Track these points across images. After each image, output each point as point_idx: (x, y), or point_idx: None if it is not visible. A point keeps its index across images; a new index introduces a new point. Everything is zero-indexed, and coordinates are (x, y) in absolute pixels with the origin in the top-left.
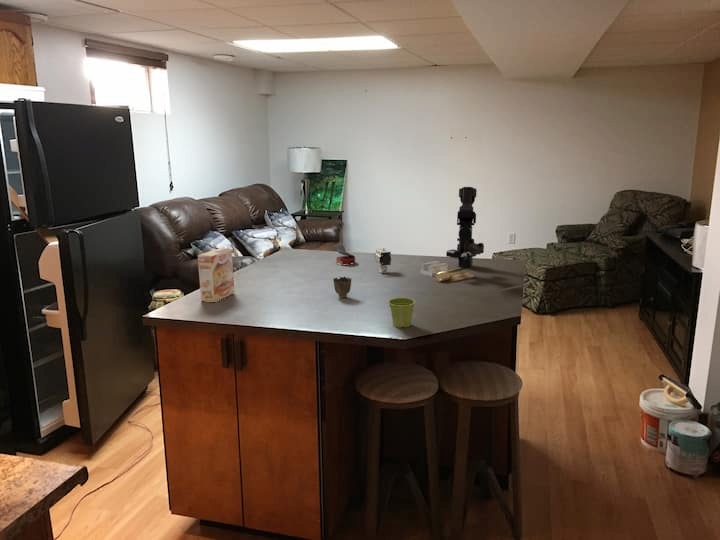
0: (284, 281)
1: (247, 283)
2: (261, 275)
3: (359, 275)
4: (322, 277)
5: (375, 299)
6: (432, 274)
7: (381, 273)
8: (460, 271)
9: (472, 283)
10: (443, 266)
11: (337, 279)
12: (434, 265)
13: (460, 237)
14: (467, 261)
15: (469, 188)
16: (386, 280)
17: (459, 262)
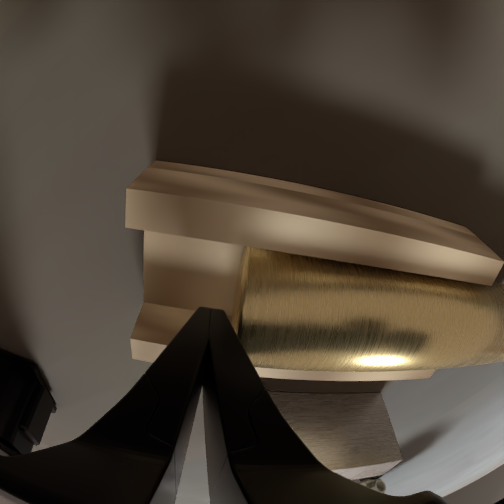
0: (488, 462)
1: (500, 461)
2: (454, 487)
3: (419, 474)
4: (454, 472)
5: None
6: (383, 413)
7: (378, 478)
8: (367, 298)
9: (375, 57)
10: None
11: None
12: (354, 474)
13: None
14: (186, 413)
15: None
16: (464, 429)
17: (41, 426)
